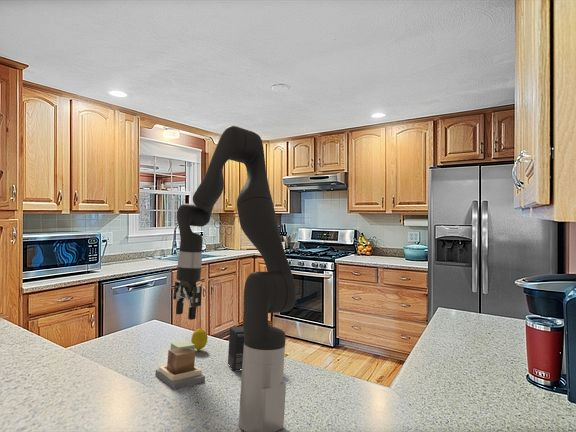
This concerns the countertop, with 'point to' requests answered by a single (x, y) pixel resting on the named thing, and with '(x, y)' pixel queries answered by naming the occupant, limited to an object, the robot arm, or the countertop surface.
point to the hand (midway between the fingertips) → (185, 316)
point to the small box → (236, 348)
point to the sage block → (183, 345)
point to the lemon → (199, 338)
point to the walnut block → (180, 360)
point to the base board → (180, 377)
